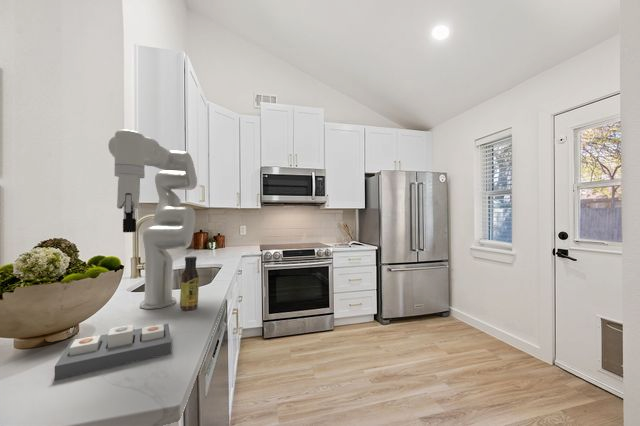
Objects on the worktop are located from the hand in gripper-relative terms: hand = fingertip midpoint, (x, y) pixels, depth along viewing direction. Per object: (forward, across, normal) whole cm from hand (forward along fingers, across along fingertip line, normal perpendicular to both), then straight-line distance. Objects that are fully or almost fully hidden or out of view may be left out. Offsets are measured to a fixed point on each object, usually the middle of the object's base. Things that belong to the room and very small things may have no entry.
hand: (129, 231), depth 82 cm
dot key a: (+30, +15, +6) cm, 34 cm away
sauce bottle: (+31, -13, +18) cm, 38 cm away
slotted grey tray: (+30, +15, -1) cm, 34 cm away
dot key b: (+29, +15, -8) cm, 34 cm away
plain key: (+28, +15, -1) cm, 32 cm away
